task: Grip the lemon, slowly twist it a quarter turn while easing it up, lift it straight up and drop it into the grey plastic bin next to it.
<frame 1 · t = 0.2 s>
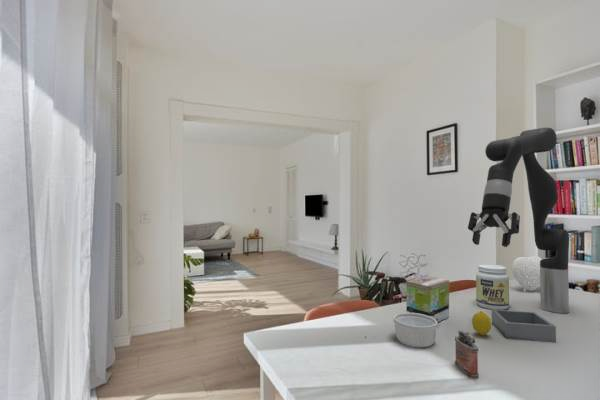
hand: (489, 245, 101), 31 cm above the table, tool tilted 20°, fingers open, 8 cm apart
ramekin: (415, 341, 105), on the table
lemon: (481, 336, 109), on the table
supplement tub: (492, 306, 140), on the table
tea box: (428, 319, 125), on the table
white textured ornament: (529, 291, 163), on the table
lighter: (466, 371, 86), on the table
bin: (521, 332, 111), on the table
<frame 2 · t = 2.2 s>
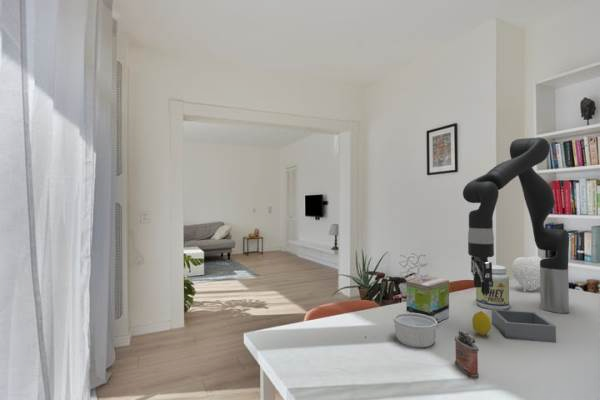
hand: (481, 290, 109), 15 cm above the table, tool pointing down, fingers open, 8 cm apart
nothing on the table moved.
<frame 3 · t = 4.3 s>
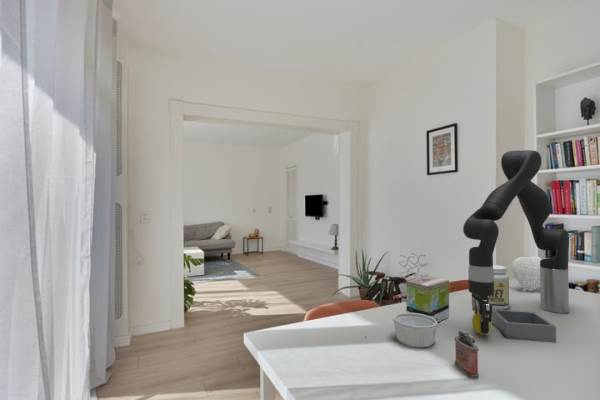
hand: (481, 329, 109), 2 cm above the table, tool pointing down, fingers closed on lemon, 5 cm apart
lemon: (481, 335, 109), on the table, touching gripper
everything else where it was.
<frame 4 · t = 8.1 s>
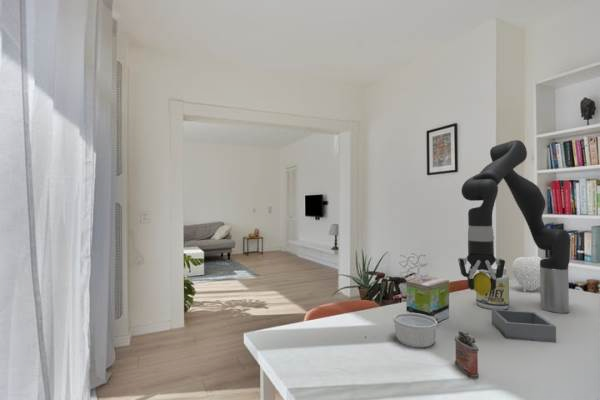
hand: (481, 289, 109), 15 cm above the table, tool pointing down, fingers closed on lemon, 5 cm apart
lemon: (481, 296, 109), point 13 cm above the table, touching gripper
everything else where it was.
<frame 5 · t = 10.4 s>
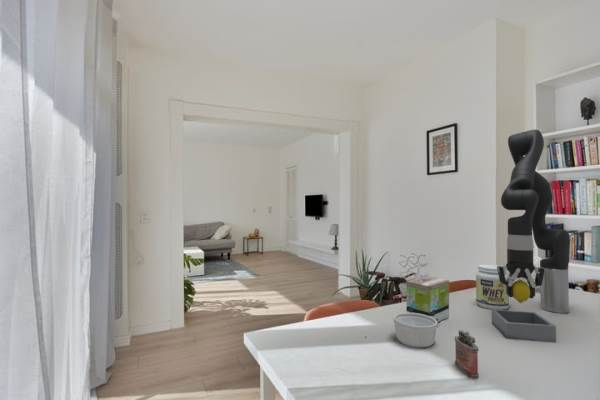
hand: (520, 297, 112), 12 cm above the table, tool pointing down, fingers closed on lemon, 5 cm apart
lemon: (520, 303, 112), point 10 cm above the table, touching gripper
everything else where it was.
when the fingers open (4 cm above the table, at t = 12.3 s): lemon drops 1 cm, resting on bin.
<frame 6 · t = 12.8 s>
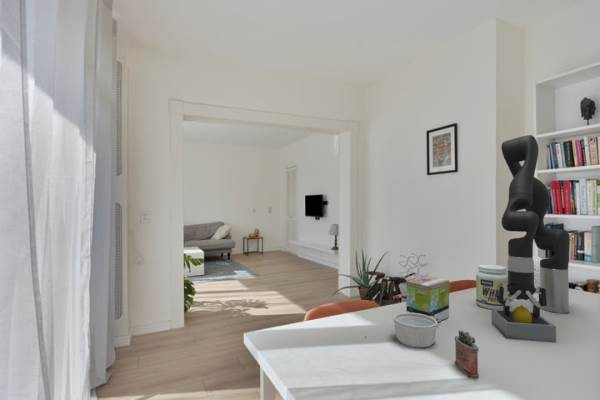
hand: (521, 317, 112), 5 cm above the table, tool pointing down, fingers open, 8 cm apart
lemon: (522, 329, 111), point 1 cm above the table, touching bin
everything else where it was.
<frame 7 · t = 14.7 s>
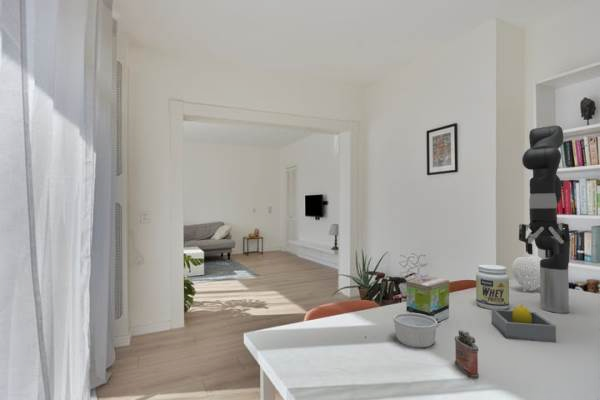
hand: (544, 254, 112), 26 cm above the table, tool pointing down, fingers open, 8 cm apart
nothing on the table moved.
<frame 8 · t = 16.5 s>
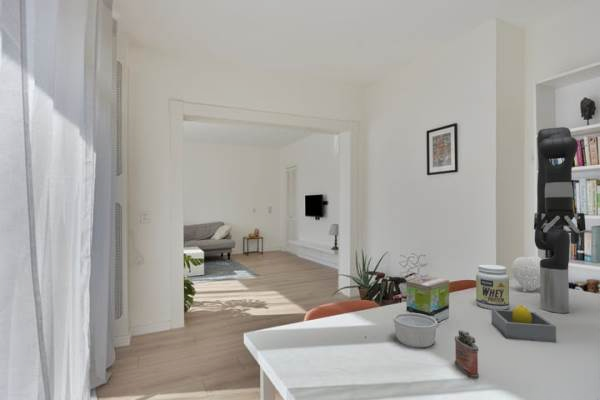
hand: (559, 243, 112), 30 cm above the table, tool pointing down, fingers open, 8 cm apart
nothing on the table moved.
at the end: lemon inside the target area on the bin (0.2 cm from its centre), point 0.8 cm above the bin's base; the gripper is holding nothing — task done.
